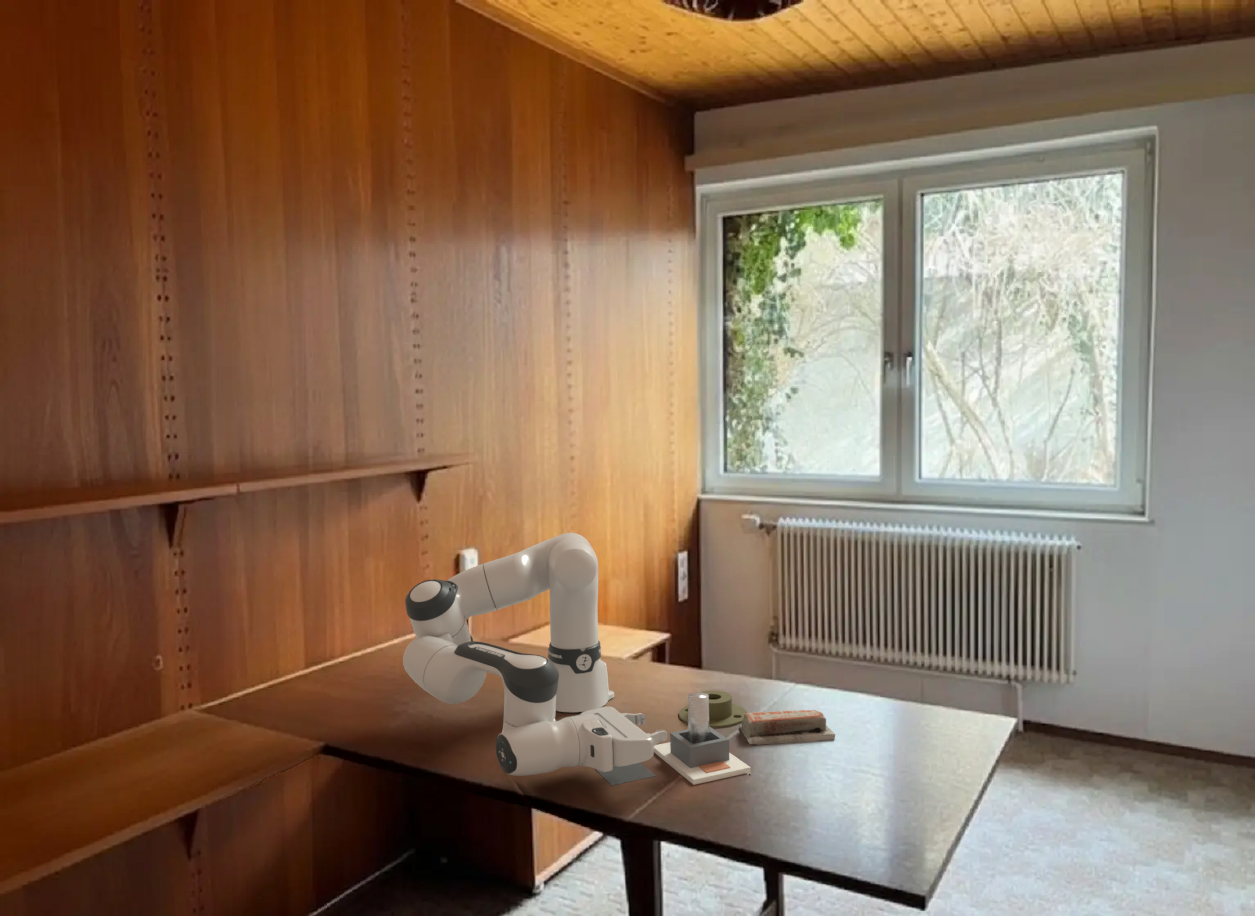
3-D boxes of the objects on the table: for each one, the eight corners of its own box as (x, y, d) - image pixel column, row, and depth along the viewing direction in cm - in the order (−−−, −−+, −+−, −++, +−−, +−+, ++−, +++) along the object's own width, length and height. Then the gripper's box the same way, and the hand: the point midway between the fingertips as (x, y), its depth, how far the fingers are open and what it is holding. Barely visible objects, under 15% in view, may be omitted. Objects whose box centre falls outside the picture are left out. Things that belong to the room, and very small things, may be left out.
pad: (593, 770, 180) (593, 767, 180) (636, 761, 184) (636, 758, 184) (611, 788, 172) (611, 785, 172) (656, 779, 176) (656, 775, 176)
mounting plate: (651, 753, 188) (651, 726, 187) (705, 742, 193) (704, 716, 192) (693, 787, 171) (693, 758, 171) (750, 775, 176) (750, 746, 176)
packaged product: (749, 724, 190) (738, 707, 200) (749, 747, 191) (738, 730, 200) (835, 718, 192) (820, 702, 202) (836, 741, 192) (821, 724, 202)
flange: (692, 682, 218) (668, 703, 204) (755, 689, 211) (734, 712, 198) (693, 702, 218) (669, 724, 204) (755, 710, 212) (735, 733, 198)
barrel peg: (685, 754, 183) (684, 694, 182) (703, 750, 184) (702, 691, 184) (694, 761, 179) (693, 700, 178) (713, 758, 181) (712, 697, 180)
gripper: (567, 736, 181) (632, 724, 187) (608, 776, 163) (679, 761, 168) (566, 704, 181) (632, 693, 186) (607, 740, 162) (678, 727, 168)
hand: (654, 726), depth 177 cm, fingers open, 8 cm apart
